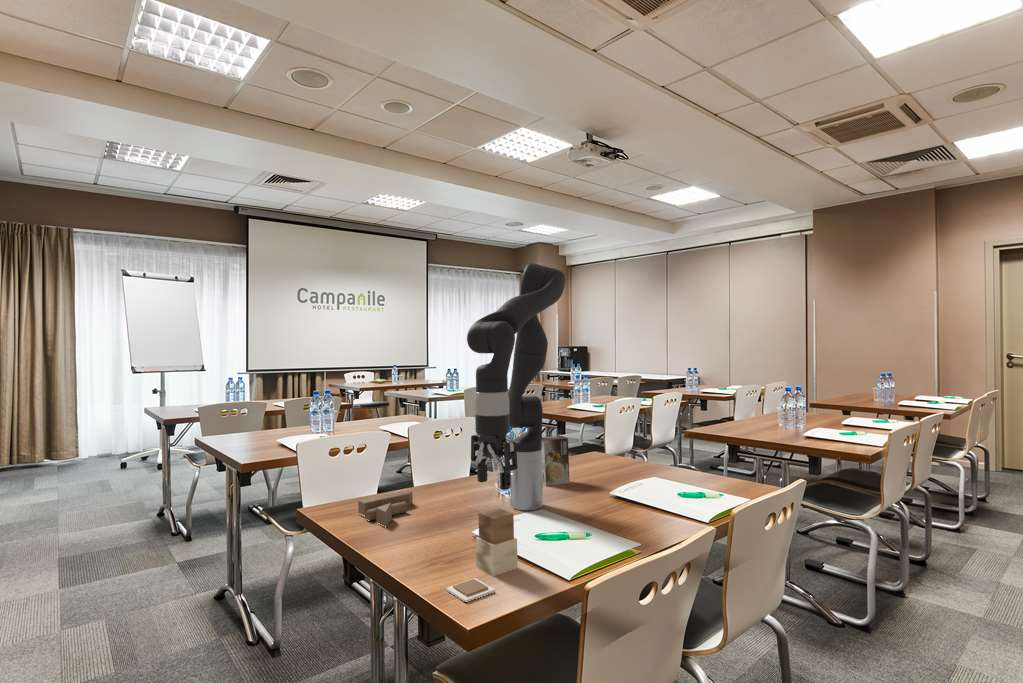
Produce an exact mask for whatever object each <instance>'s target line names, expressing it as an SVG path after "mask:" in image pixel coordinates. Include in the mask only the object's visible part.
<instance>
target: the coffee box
mask: <svg viewBox="0 0 1023 683" xmlns="http://www.w3.org/2000/svg"><path fill="white" fill-rule="evenodd" d="M569 452H570V451H569V438H568V437H566V436H563V435H559V436H558V435H555V436H544V437H543V436H542V485H544V486H545V487H549V486H559V485H561V486H562V485H568V484H570V481H571V480H570V478H571V477H570V457H569V454H570V453H569Z"/></svg>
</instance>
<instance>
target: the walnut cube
mask: <svg viewBox="0 0 1023 683" xmlns="http://www.w3.org/2000/svg"><path fill="white" fill-rule="evenodd" d="M514 517H515V516H514V512H510V511H508V510H505V509H503V508H500V507H496V508H492V509H489V510H486V511H481V512H478V537H479V538H480V539H483V540H485V541H487V542H489V543H491V544H494V545H495V544H498V543H501V542H504V541H507V540H511V539H514V537H515V530H514V529H515V526H514V525H515V524H514V522H515V521H514V520H515V518H514Z"/></svg>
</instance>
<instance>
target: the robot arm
mask: <svg viewBox="0 0 1023 683" xmlns="http://www.w3.org/2000/svg"><path fill="white" fill-rule="evenodd" d="M565 287H566V276H565V273H564V271H563V270H562V271H561V270H559V269H557V268H554V267H549V266H547V265H546V266H545V265H542V264H537V263H529V264H527V265H526V266H525V268H524V270H523V271H522V276H521V279H520V288H519V295H517V296H513V297H511V298H510V299H508V300H507V301H505V302H504V303H503V304H502V305H501V306H500V307H499V308H498V309H497V310H496V311H493V312H492V313H489V314H487V315H485V316H482V317H481V318H480V319H478V320H476V321H474V322H473V324H472V325H471V326H470V327H469V329H468V332H467V334H466V335H467V336H466V342H467V345H468V347H469V349H470V350H471V351H472V352H475V353H477V354H493V356H492V357H491V358H492V359H491V361H490V362H489V363H486V364H485V363H484V364H482V365H479V366H477V368H476V370H475V391H476V392H475V399H474V400H475V401H474V402H475V404H474V407H475V408H474V411H475V413H474V414H475V415H474V416H475V417H474V418H475V420H474V421H475V434H473V435H471V437H470V460H471V462H474V464H475V465H476V473H477V475H476V476H477V482H479V483H485V482H487V481H488V465H487V463H488V461H489V459H491V460H492V461H493V462H494V464H495V465H497V467H498V469H499V471H500V472H499V490H501V491H506V490H507V491H508V490H510V493H509V494H510V505H511V506H512V507H513V509H516V510H518V511H536V510H540V509H542V508H543V507H544V502H543V501H544V500H543V499H544V497H543V496H544V494H543V487H544V486H543V485H544V484H542V437H543V417H544V414H543V413H544V412H543V411H544V410H543V403H542V401H541V399H540V397H538V396H536V395H534V396H531V395H530V396H529V395H528V396H523V395H524V393H525V390H526V389H527V387H528V386H529V385H530V384H531V382H533V381H534V379H535V378H536V377H537V376H538V375H539V374H540V373H541V371H542V370H543V368H544V366H545V363H546V358H547V354H548V346H549V344H548V338H547V336H546V335H547V334H546V332H545V330H544V328H543V326H542V323H541V321H540V319H539V316H538V314H541V313H542V312H543V311H545V310H546V309H547V308H549V307H551V306H552V305H553V306H554V304H556V303H557V302H558V301H559V300H560V298H561V296H562V295H563V293H564V289H565ZM513 351H514V353H513ZM512 355H513V361H512V372H511V379H510V384H509V382H508V380H509V379H508V374H509V369H510V368H509V367H510V362H511V359H512ZM508 384H509V385H508ZM511 428H515V429H516V428H518V429H519V428H528V429H527V431H525V432H524V433H522V435H520V436H518V437H515V438H514V439H512V440H511V441H510V442H509V441H508V440H507V435H508V434H509V433H510V429H511ZM510 461H511V462H510ZM503 463H504V464H503Z"/></svg>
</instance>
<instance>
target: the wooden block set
mask: <svg viewBox="0 0 1023 683" xmlns="http://www.w3.org/2000/svg"><path fill="white" fill-rule="evenodd" d="M413 498H414V497H413V491H412V490H409V489H407V490H404V491H403V490H402V491H398V492H394V493H389V494H381V495H376V496H372V497H368V498H363V499H362V498H361V499H359V500H358V503H357V505H358V510H357V511H358V514H359V513H361V514H363V515H365V517H366V518H365V520H366V519H368V520H373V521H376V523H377V522H378V523H380V524H382V525H384V526H387V525H388V523H389V522H390V521H391V519H392V520H393V516H392V515H394V516H396V515H395V514H398V515H400V514H399V513H402V514H405V513H404V512H406V513H407V512H408V510H409V509H408V508H409V507H408V506H411V505H412V504H413V503H414V501H413ZM374 519H376V520H374ZM391 522H392V521H391ZM391 522H390V523H391ZM390 523H389V524H390ZM388 526H389V525H388ZM388 526H387V527H388Z"/></svg>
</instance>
